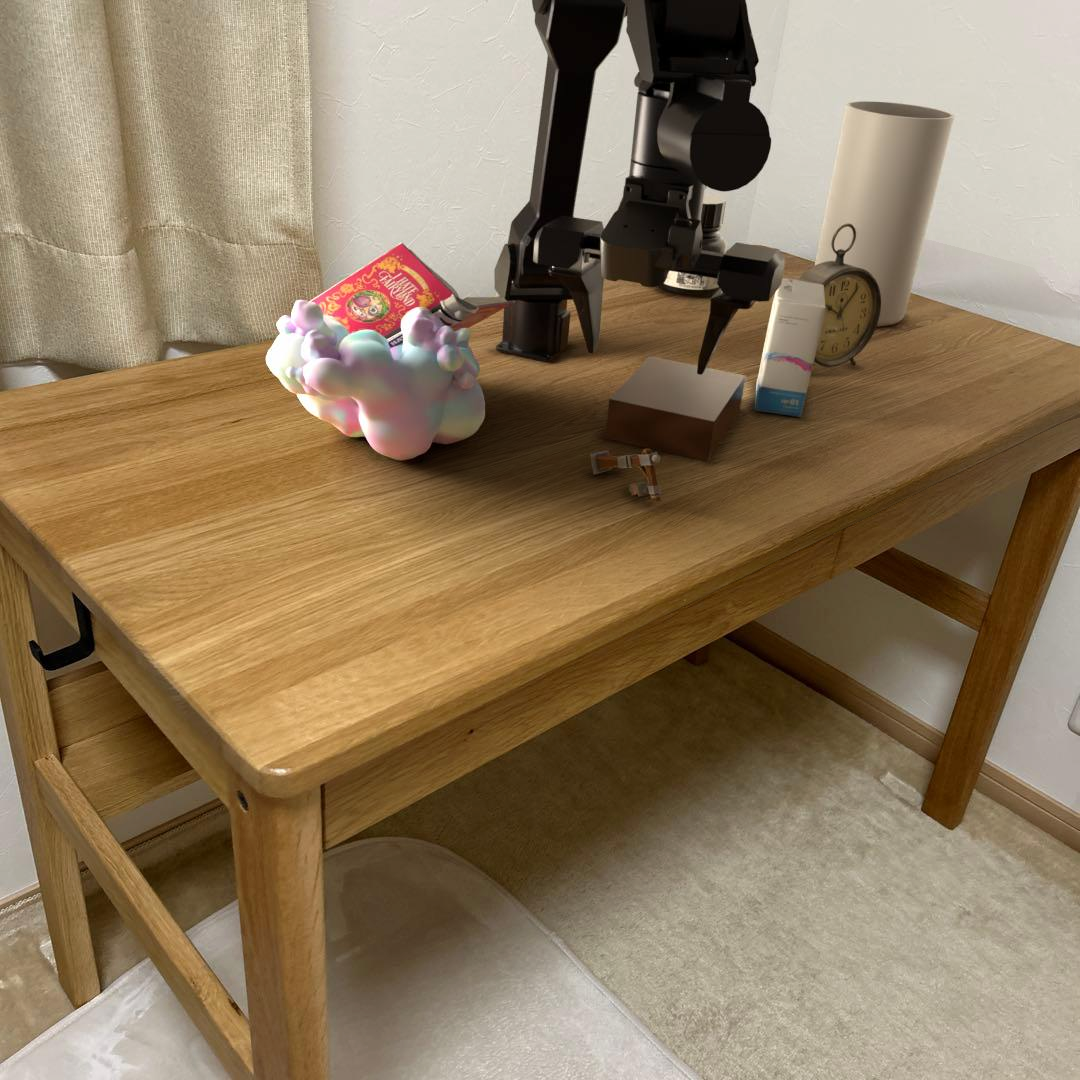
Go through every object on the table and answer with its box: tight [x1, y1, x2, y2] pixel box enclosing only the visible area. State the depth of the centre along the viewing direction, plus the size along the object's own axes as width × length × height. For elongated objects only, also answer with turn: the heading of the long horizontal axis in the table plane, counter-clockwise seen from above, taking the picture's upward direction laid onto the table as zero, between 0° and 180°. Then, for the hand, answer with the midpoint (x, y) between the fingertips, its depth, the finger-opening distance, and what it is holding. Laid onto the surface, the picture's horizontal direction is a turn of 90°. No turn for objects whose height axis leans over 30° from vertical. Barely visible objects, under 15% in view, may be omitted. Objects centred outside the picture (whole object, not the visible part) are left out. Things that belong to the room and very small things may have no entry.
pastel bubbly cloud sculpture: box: [265, 241, 515, 461], centre depth 97 cm, size 20×22×18 cm
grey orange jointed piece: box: [589, 447, 662, 503], centre depth 92 cm, size 2×8×4 cm, turn 36°
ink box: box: [754, 277, 825, 418], centre depth 109 cm, size 9×5×12 cm, turn 168°
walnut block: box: [604, 355, 746, 462], centre depth 104 cm, size 10×13×4 cm
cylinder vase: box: [814, 100, 955, 327], centre depth 135 cm, size 12×12×25 cm
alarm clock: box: [797, 224, 881, 368], centre depth 118 cm, size 11×5×16 cm, turn 117°
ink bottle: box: [656, 192, 728, 298], centre depth 142 cm, size 10×9×12 cm
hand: (645, 362), depth 87 cm, fingers open, 9 cm apart
